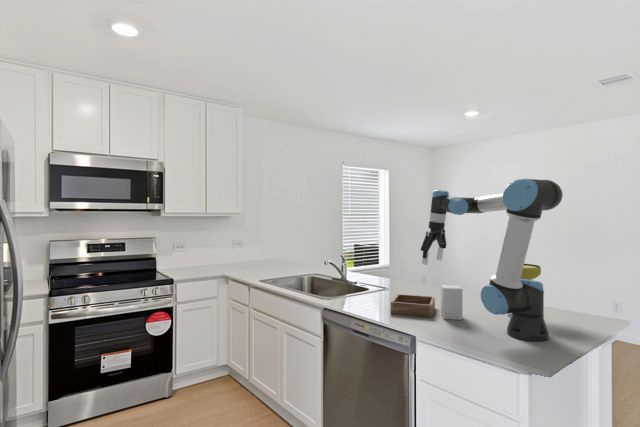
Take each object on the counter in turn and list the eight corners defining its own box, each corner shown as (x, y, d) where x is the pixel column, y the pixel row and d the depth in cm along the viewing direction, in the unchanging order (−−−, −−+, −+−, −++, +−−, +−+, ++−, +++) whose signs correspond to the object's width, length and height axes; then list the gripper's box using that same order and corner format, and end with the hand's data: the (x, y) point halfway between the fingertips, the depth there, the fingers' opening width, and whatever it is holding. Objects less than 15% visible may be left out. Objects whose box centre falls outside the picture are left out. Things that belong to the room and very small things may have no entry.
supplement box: (463, 320, 176) (462, 288, 176) (443, 319, 177) (442, 288, 177) (459, 315, 184) (459, 285, 185) (441, 314, 186) (440, 284, 186)
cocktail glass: (528, 311, 190) (528, 262, 190) (549, 322, 172) (549, 268, 172) (492, 311, 190) (492, 263, 190) (510, 322, 172) (509, 268, 172)
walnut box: (431, 317, 180) (431, 305, 180) (390, 314, 188) (390, 302, 188) (434, 307, 199) (434, 296, 199) (397, 304, 206) (397, 294, 206)
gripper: (443, 217, 196) (438, 256, 199) (416, 221, 179) (411, 263, 183) (456, 220, 190) (451, 260, 194) (430, 224, 174) (424, 268, 177)
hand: (432, 262), depth 188 cm, fingers open, 13 cm apart
